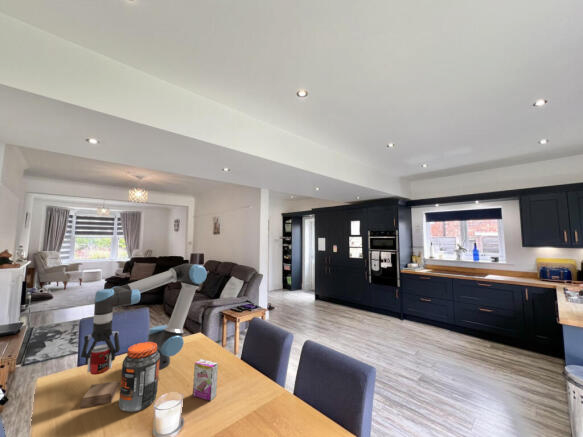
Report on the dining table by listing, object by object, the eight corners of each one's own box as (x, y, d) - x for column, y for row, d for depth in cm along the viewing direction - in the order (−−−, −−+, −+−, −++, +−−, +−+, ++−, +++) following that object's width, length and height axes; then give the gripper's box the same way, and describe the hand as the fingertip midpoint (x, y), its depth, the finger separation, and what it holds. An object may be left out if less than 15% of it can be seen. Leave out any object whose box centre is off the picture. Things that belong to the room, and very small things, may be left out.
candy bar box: (191, 396, 124) (194, 362, 126) (198, 391, 129) (200, 358, 130) (210, 402, 120) (212, 367, 122) (216, 396, 125) (218, 362, 127)
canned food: (99, 376, 116) (100, 351, 117) (85, 374, 118) (86, 350, 118) (113, 367, 124) (115, 344, 124) (100, 365, 125) (101, 343, 126)
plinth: (118, 388, 129) (119, 380, 129) (111, 402, 118) (111, 393, 118) (90, 392, 125) (91, 384, 125) (80, 407, 113) (81, 398, 114)
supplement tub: (117, 399, 120) (122, 344, 122) (153, 389, 129) (157, 337, 132) (119, 419, 107) (124, 357, 110) (159, 405, 117) (163, 348, 119)
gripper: (129, 316, 130) (126, 361, 128) (80, 321, 122) (77, 369, 120) (125, 321, 123) (122, 368, 121) (73, 326, 115) (70, 377, 113)
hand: (100, 369), depth 121 cm, fingers closed on canned food, 8 cm apart
